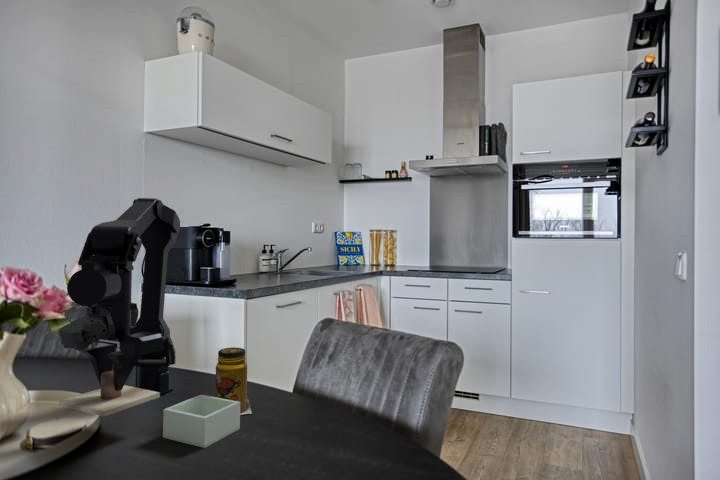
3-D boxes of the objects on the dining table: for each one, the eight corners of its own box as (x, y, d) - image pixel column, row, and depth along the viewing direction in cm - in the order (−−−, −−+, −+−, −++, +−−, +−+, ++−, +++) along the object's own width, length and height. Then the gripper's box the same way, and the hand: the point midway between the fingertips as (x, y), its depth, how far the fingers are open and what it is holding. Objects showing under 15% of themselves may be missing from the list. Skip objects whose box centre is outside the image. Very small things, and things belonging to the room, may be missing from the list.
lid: (59, 405, 82) (59, 376, 82) (117, 387, 92) (117, 362, 92) (103, 416, 77) (104, 386, 77) (159, 397, 87) (160, 370, 87)
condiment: (212, 418, 92) (213, 354, 92) (212, 403, 101) (213, 345, 101) (251, 414, 95) (253, 352, 95) (248, 400, 103) (249, 343, 103)
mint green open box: (163, 438, 83) (163, 409, 83) (200, 421, 91) (201, 394, 91) (204, 449, 79) (205, 418, 79) (239, 429, 87) (240, 401, 87)
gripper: (30, 299, 81) (28, 394, 81) (110, 308, 73) (108, 412, 73) (92, 293, 91) (90, 377, 91) (167, 300, 83) (165, 392, 83)
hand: (111, 388), depth 84 cm, fingers closed on lid, 3 cm apart
